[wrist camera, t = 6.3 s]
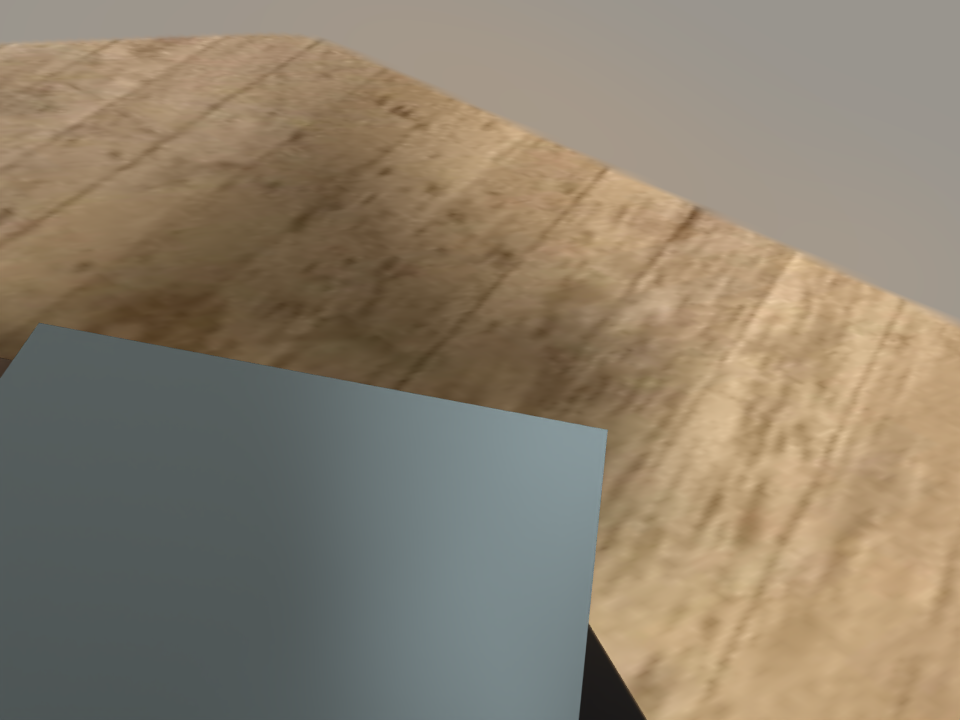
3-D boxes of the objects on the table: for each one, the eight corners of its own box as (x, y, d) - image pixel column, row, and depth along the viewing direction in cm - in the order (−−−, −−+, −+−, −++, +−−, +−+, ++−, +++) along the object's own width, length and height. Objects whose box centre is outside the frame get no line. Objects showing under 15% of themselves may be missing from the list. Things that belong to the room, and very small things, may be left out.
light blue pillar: (516, 600, 14) (608, 429, 4) (478, 832, 11) (483, 1666, 2) (339, 561, 14) (39, 323, 4) (271, 778, 12) (-596, 1229, 2)
